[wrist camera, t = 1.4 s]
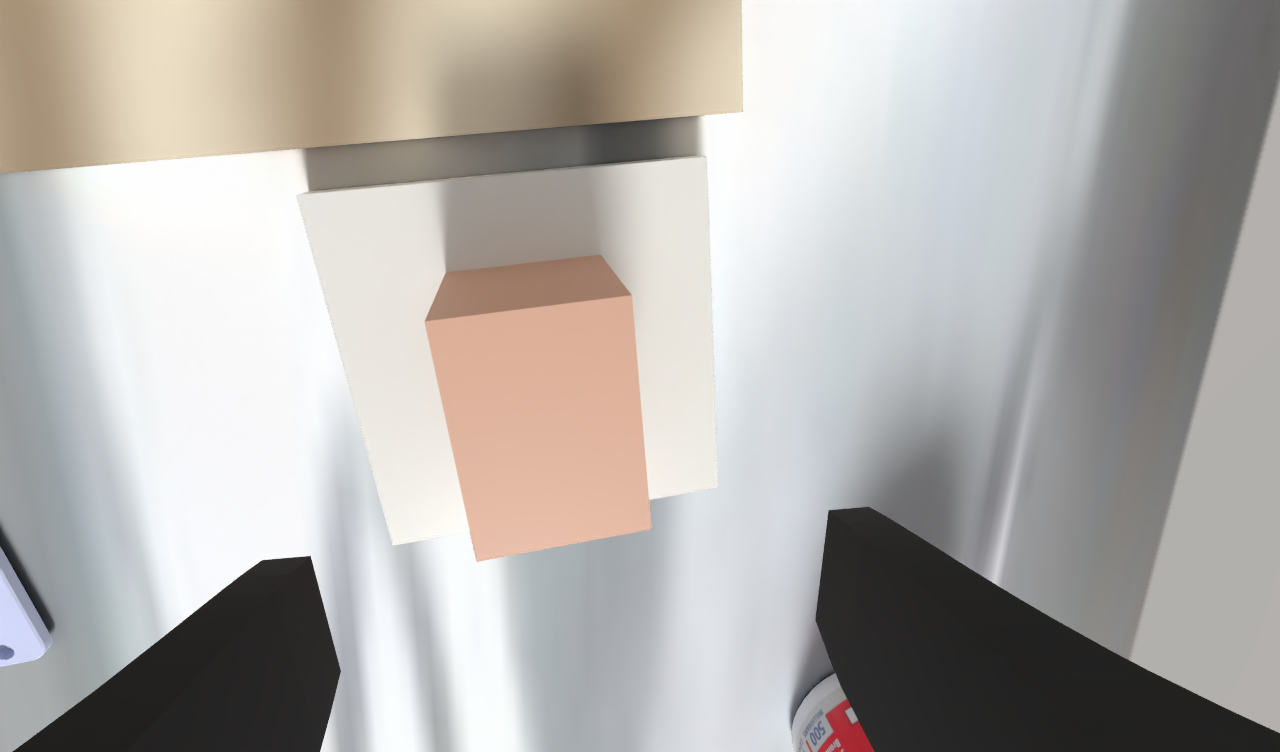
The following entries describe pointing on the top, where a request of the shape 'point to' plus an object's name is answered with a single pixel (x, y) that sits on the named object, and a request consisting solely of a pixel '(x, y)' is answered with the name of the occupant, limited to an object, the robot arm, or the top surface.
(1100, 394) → the top surface
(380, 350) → the white square plate
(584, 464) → the peach rectangular block
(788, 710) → the top surface
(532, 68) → the beige flat block
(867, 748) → the pill bottle
